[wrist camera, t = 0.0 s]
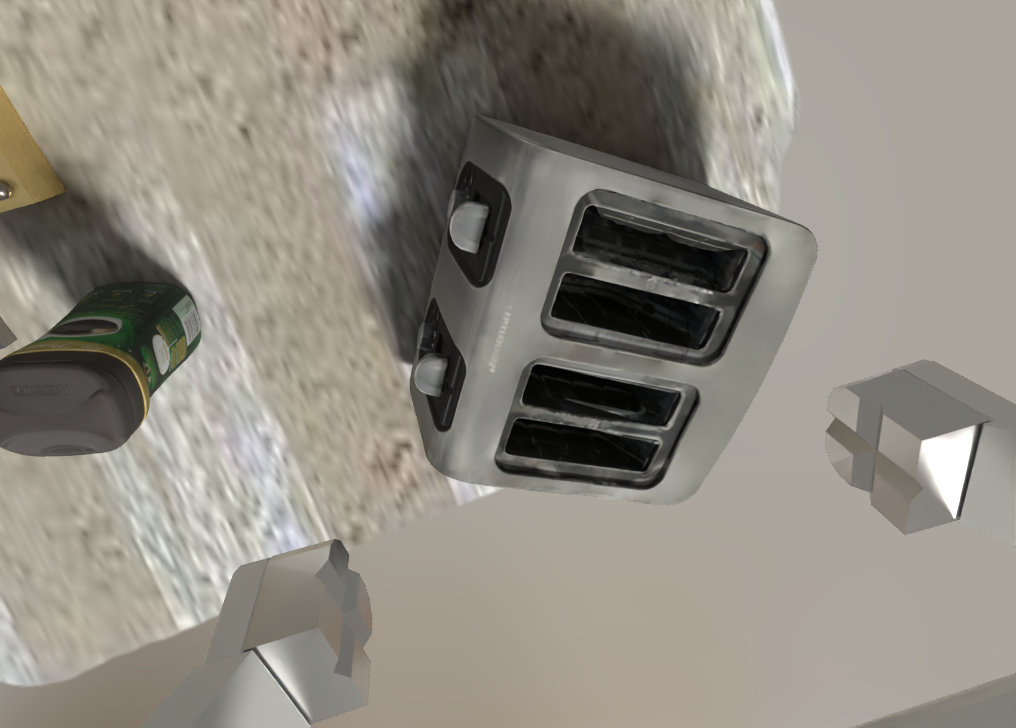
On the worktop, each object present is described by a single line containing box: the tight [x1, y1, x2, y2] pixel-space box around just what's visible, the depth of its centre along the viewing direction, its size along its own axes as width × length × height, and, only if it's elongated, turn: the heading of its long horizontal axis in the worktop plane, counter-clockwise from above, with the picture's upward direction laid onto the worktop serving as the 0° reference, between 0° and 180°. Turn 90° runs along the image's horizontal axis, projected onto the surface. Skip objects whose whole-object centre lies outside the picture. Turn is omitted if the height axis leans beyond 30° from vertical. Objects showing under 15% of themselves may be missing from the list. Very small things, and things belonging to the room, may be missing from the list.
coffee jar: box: [0, 283, 201, 457], centre depth 46 cm, size 10×8×19 cm
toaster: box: [410, 114, 818, 505], centre depth 52 cm, size 29×32×19 cm
